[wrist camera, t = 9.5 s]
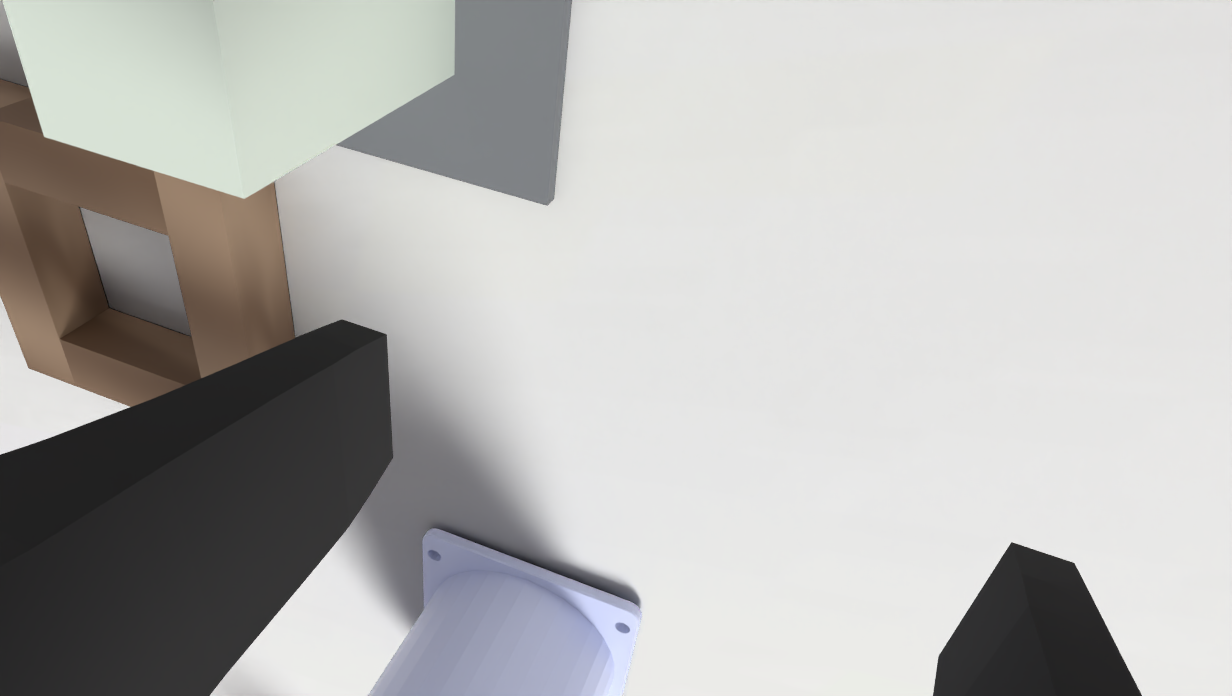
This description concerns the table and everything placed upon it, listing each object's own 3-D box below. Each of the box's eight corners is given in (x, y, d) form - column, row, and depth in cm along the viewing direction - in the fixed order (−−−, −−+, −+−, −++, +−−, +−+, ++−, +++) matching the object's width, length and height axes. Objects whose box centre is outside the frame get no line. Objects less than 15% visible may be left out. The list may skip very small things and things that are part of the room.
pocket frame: (306, 420, 28) (267, 458, 27) (77, 337, 30) (28, 368, 28) (270, 159, 22) (218, 188, 21) (-10, 76, 24) (-78, 97, 23)
